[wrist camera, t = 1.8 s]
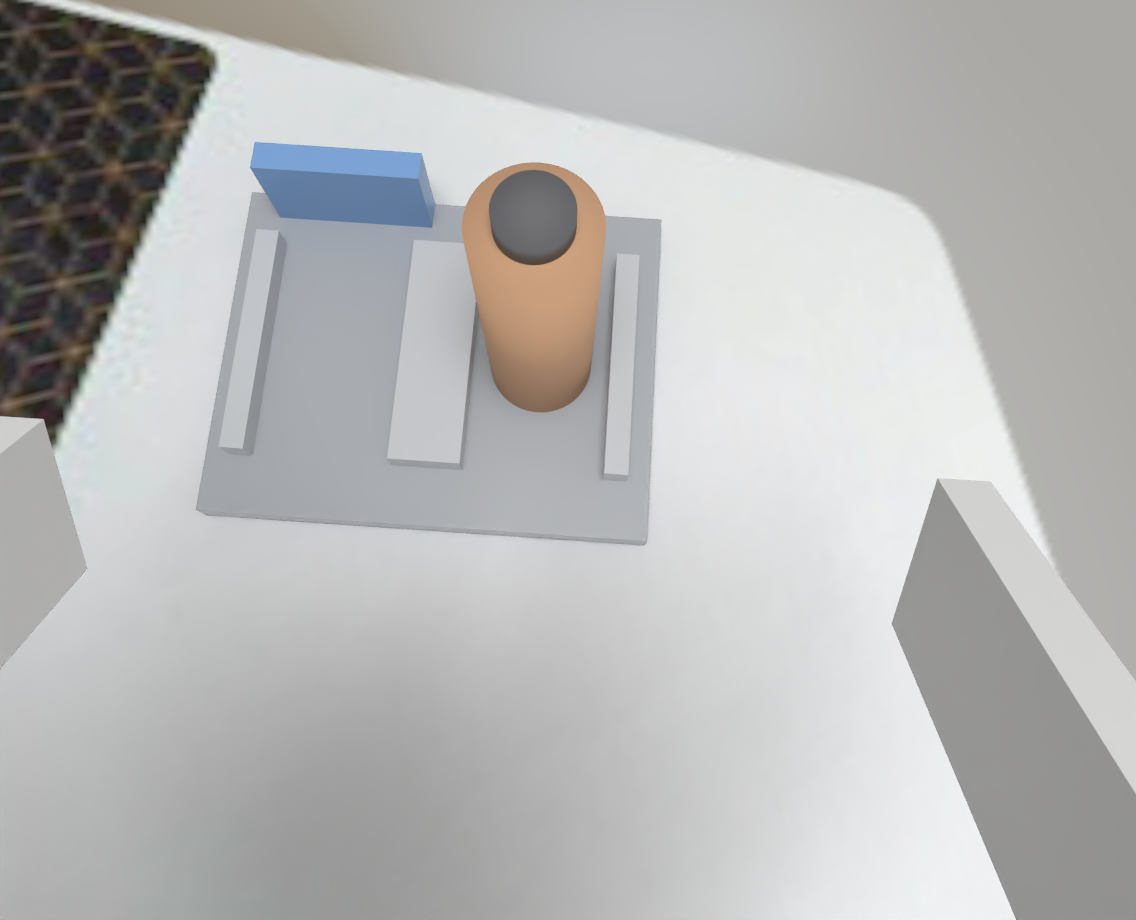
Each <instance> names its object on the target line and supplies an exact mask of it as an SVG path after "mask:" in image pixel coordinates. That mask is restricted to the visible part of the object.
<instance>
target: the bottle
mask: <svg viewBox="0 0 1136 920" xmlns="http://www.w3.org/2000/svg"><path fill="white" fill-rule="evenodd" d="M462 236H463V242H464V247H465V251H466V256H467V260H468V265H469V270H470V274H471V279H472V284H473V288H474V293H475V297H476V302H477V307H478V311H479V316H480V320H481V325H482V330H483V334H484V339H485V343H486V348H487V353H488V357H489V362H490V367H491V371H492V375H493V379H494V382H495V384H496V386H497V388H498V390H499V391H500V393H501V394H502V395H503V396H504V397H505V398H506V399H507V400H508V401H509V402H511V403H512V404H513V405H515V406H517V407H519V408H521V409H524V410H527V411H531V412H551V411H555V410H558V409H561V408H563V407H565V406H567V405H569V404H570V403H572V402H573V401H574V400H575V399H576V398H577V397H579V395H580V394H581V393H582V392H583V390H584V388H585V387H586V385H587V383H588V380H589V377H590V372H591V363H592V354H593V345H594V336H595V327H596V318H597V309H598V300H599V291H600V281H601V272H602V263H603V254H604V245H605V236H606V220H605V214H604V211H603V207H602V205H601V203H600V201H599V198H598V197H597V195H596V194H595V192H594V191H593V190H592V188H591V187H590V186H589V185H588V184H587V183H586V182H585V181H584V180H583V179H581V178H580V177H579V176H577V175H576V174H574V173H572V172H570V171H568V170H567V169H564V168H561V167H559V166H555V165H551V164H546V163H522V164H517V165H513V166H510V167H507V168H504V169H502V170H500V171H498V172H496V173H494V174H493V175H491V176H490V177H488V178H487V179H486V180H485V181H483V182H482V183H481V184H480V185H479V186H478V187H477V189H476V190H475V191H474V192H473V194H472V195H471V197H470V199H469V201H468V203H467V205H466V208H465V211H464V214H463V219H462Z"/></svg>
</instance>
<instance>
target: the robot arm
mask: <svg viewBox="0 0 1136 920" xmlns="http://www.w3.org/2000/svg"><path fill="white" fill-rule="evenodd" d="M86 569H87V566H86V562H85V559H84V556H83V552H82V549H81V545H80V542H79V539H78V535H77V532H76V528H75V525H74V522H73V518H72V515H71V511H70V508H69V505H68V501H67V498H66V494H65V491H64V488H63V484H62V481H61V477H60V474H59V471H58V467H57V464H56V460H55V457H54V454H53V450H52V447H51V443H50V440H49V437H48V433H47V430H46V426H45V423H44V420H43V419H32V418H17V417H2V416H0V669H1V667H2V666H3V665H4V664H5V663H6V662H7V661H8V659H9V658H10V657H11V656H12V655H13V654H14V652H15V651H16V650H17V649H18V648H19V647H20V646H21V644H22V643H23V642H24V641H25V640H26V639H27V637H28V636H29V635H30V634H31V633H32V632H33V631H34V629H35V628H36V627H37V626H38V625H39V624H40V622H41V621H42V620H43V619H44V618H45V617H46V616H47V614H48V613H49V612H50V611H51V610H52V609H53V607H54V606H55V605H56V604H57V603H58V602H59V601H60V599H61V598H62V597H63V596H64V595H65V594H66V592H67V591H68V590H69V589H70V588H71V587H72V586H73V584H74V583H75V582H76V581H77V580H78V579H79V577H80V576H81V575H82V574H83V573H84V572H85V571H86ZM892 625H893V628H894V630H895V632H896V635H897V637H898V640H899V642H900V644H901V647H902V649H903V651H904V654H905V656H906V659H907V661H908V663H909V666H910V668H911V670H912V673H913V675H914V678H915V680H916V682H917V685H918V687H919V689H920V692H921V694H922V697H923V699H924V701H925V704H926V706H927V708H928V711H929V713H930V716H931V718H932V720H933V723H934V725H935V728H936V730H937V732H938V735H939V737H940V739H941V742H942V744H943V747H944V749H945V751H946V754H947V756H948V758H949V761H950V763H951V766H952V768H953V770H954V773H955V775H956V777H957V780H958V782H959V785H960V787H961V789H962V792H963V794H964V796H965V799H966V801H967V804H968V806H969V808H970V811H971V813H972V815H973V818H974V820H975V823H976V825H977V827H978V830H979V832H980V834H981V837H982V839H983V842H984V844H985V846H986V849H987V851H988V853H989V856H990V858H991V861H992V863H993V865H994V868H995V870H996V872H997V875H998V877H999V880H1000V882H1001V884H1002V887H1003V889H1004V891H1005V894H1006V896H1007V899H1008V901H1009V903H1010V906H1011V908H1012V911H1013V913H1014V915H1015V918H1016V920H1136V682H1135V680H1134V679H1133V677H1132V676H1131V675H1130V673H1129V672H1128V671H1127V669H1126V668H1125V666H1124V665H1123V664H1122V662H1121V661H1120V660H1119V658H1118V657H1117V655H1116V654H1115V653H1114V652H1113V650H1112V649H1111V647H1110V646H1109V645H1108V643H1107V642H1106V640H1105V639H1104V638H1103V636H1102V635H1101V633H1100V632H1099V631H1098V629H1097V628H1096V626H1095V625H1094V624H1093V623H1092V621H1091V620H1090V618H1089V617H1088V616H1087V614H1086V613H1085V611H1084V610H1083V609H1082V607H1081V606H1080V604H1079V603H1078V602H1077V600H1076V599H1075V597H1074V596H1073V595H1072V593H1071V592H1070V591H1069V589H1068V588H1067V586H1066V585H1065V584H1064V582H1063V581H1062V580H1061V578H1060V577H1059V575H1058V574H1057V573H1056V571H1055V570H1054V569H1053V567H1052V566H1051V564H1050V563H1049V562H1048V560H1047V559H1046V558H1045V556H1044V555H1043V553H1042V552H1041V551H1040V549H1039V548H1038V546H1037V545H1036V544H1035V542H1034V541H1033V540H1032V538H1031V537H1030V535H1029V534H1028V533H1027V531H1026V530H1025V529H1024V527H1023V526H1022V524H1021V523H1020V522H1019V520H1018V519H1017V518H1016V516H1015V515H1014V513H1013V512H1012V511H1011V509H1010V508H1009V507H1008V505H1007V504H1006V502H1005V501H1004V500H1003V498H1002V497H1001V495H1000V494H999V493H998V491H997V490H996V489H995V487H994V486H993V484H992V483H991V482H985V481H970V480H955V479H940V478H938V479H937V482H936V485H935V488H934V491H933V495H932V498H931V501H930V504H929V507H928V510H927V514H926V517H925V520H924V523H923V526H922V529H921V533H920V536H919V539H918V542H917V545H916V548H915V552H914V555H913V558H912V561H911V564H910V567H909V571H908V574H907V577H906V580H905V583H904V586H903V590H902V593H901V596H900V599H899V602H898V606H897V609H896V612H895V615H894V618H893V621H892Z"/></svg>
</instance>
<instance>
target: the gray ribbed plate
mask: <svg viewBox="0 0 1136 920" xmlns="http://www.w3.org/2000/svg"><path fill="white" fill-rule="evenodd" d="M250 168H251V170H252V171H253V173H254V175H255V176H256V178H257V180H258V181H259V183H260V185H261V186H262V188H263V190H264V191H265V193H257V192H252V196H251V201H250V207H249V213H248V218H247V224H246V230H245V235H244V241H243V247H242V252H241V258H240V264H239V269H238V275H237V281H236V286H235V292H234V297H233V303H232V309H231V314H230V320H229V326H228V331H227V337H226V343H225V348H224V354H223V360H222V365H221V371H220V376H219V382H218V388H217V393H216V399H215V405H214V410H213V416H212V422H211V427H210V433H209V439H208V444H207V450H206V455H205V461H204V467H203V472H202V478H201V484H200V489H199V495H198V501H197V506H196V510H197V511H199V512H202V513H204V514H206V515H213V516H228V517H242V518H257V519H271V520H286V521H300V522H315V523H329V524H344V525H358V526H373V527H387V528H402V529H416V530H431V531H445V532H460V533H474V534H489V535H503V536H518V537H532V538H547V539H561V540H576V541H590V542H605V543H619V544H634V545H644V544H645V543H646V541H647V525H648V503H649V481H650V459H651V436H652V414H653V392H654V370H655V348H656V326H657V304H658V282H659V260H660V238H661V220H659V219H644V218H629V217H614V216H605V220H606V236H605V245H604V254H603V263H602V272H601V281H600V291H599V300H598V309H597V318H596V327H595V336H594V345H593V354H592V363H591V372H590V377H589V380H588V383H587V385H586V387H585V388H584V390H583V392H582V393H581V394H580V395H579V397H577V398H576V399H575V400H574V401H573V402H572V403H570V404H569V405H567V406H565V407H563V408H561V409H558V410H555V411H551V412H531V411H527V410H524V409H521V408H519V407H517V406H515V405H513V404H512V403H511V402H509V401H508V400H507V399H506V398H505V397H504V396H503V395H502V394H501V393H500V391H499V390H498V388H497V386H496V384H495V382H494V379H493V375H492V371H491V367H490V362H489V357H488V353H487V348H486V343H485V339H484V334H483V330H482V325H481V320H480V316H479V311H478V307H477V302H476V297H475V293H474V288H473V284H472V279H471V274H470V270H469V265H468V260H467V256H466V251H465V247H464V242H463V236H462V219H463V214H464V211H465V208H466V207H465V206H450V205H435V203H434V199H433V195H432V191H431V187H430V183H429V180H428V176H427V172H426V168H425V164H424V160H423V157H422V153H410V152H395V151H380V150H365V149H350V148H335V147H320V146H305V145H290V144H275V143H260V142H255V143H254V149H253V155H252V160H251V166H250Z"/></svg>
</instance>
